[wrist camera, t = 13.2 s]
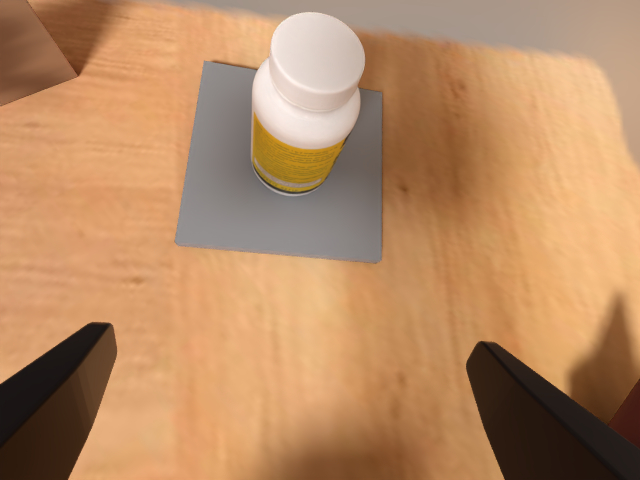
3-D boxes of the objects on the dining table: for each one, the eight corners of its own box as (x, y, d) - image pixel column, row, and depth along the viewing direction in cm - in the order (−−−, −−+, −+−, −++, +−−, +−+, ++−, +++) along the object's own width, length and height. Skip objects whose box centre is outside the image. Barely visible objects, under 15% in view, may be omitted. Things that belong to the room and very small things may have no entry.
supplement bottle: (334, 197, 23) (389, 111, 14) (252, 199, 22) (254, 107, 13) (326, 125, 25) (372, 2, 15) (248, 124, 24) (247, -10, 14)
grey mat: (376, 263, 24) (381, 260, 23) (178, 245, 22) (174, 242, 21) (377, 100, 27) (382, 92, 26) (205, 70, 25) (204, 60, 24)
